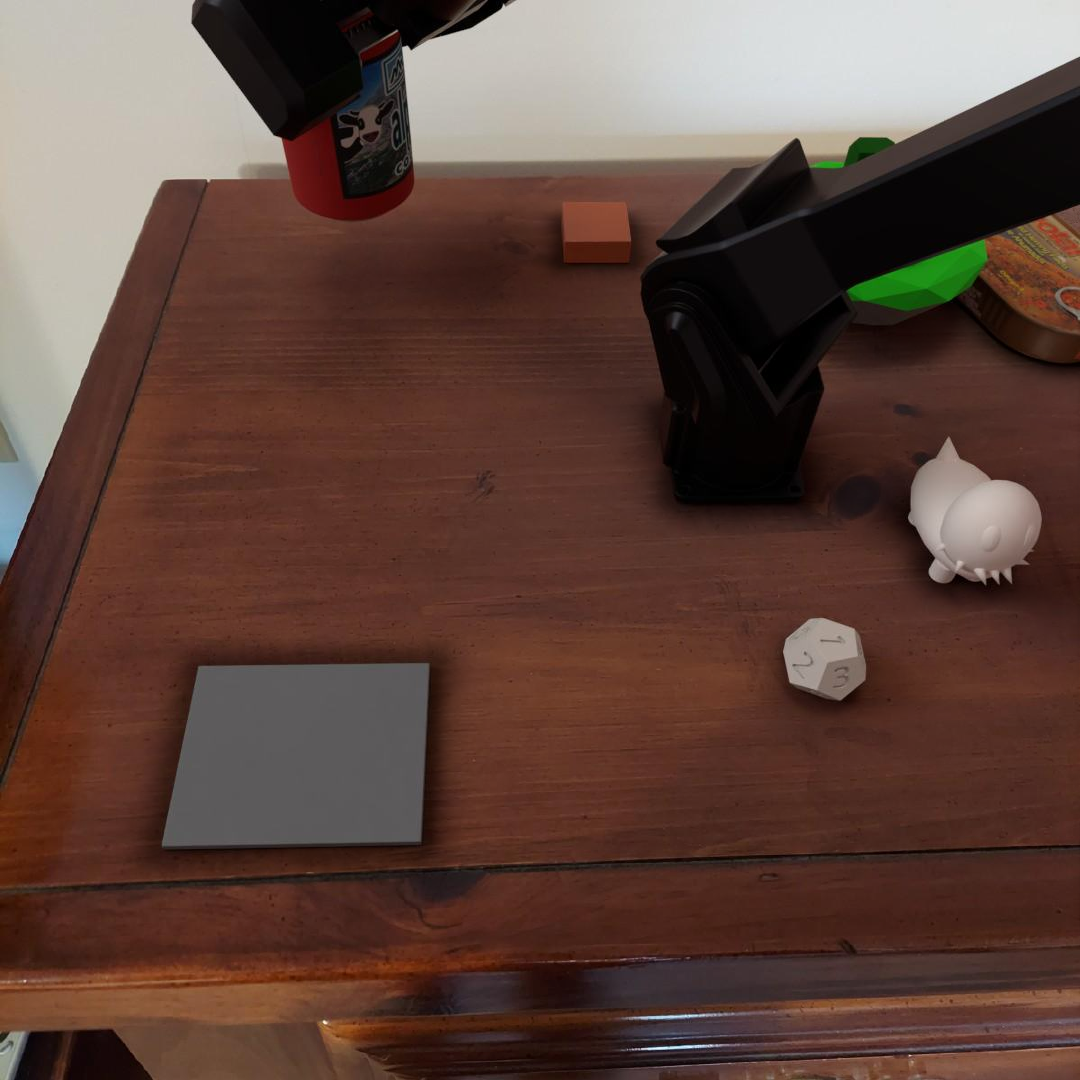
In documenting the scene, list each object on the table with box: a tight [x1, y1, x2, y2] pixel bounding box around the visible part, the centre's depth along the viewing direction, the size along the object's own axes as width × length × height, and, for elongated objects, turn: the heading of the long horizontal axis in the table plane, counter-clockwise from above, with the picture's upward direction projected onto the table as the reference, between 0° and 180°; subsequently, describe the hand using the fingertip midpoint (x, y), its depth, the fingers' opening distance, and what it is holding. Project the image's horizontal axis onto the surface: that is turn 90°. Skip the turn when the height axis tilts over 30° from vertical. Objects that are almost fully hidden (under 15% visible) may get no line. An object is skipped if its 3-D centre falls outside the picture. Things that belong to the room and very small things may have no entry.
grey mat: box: [161, 662, 431, 851], centre depth 42 cm, size 10×8×1 cm
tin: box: [955, 213, 1080, 364], centre depth 60 cm, size 15×3×8 cm
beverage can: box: [281, 0, 415, 223], centre depth 52 cm, size 7×7×12 cm
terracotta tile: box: [561, 201, 632, 264], centre depth 62 cm, size 4×4×2 cm
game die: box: [782, 617, 867, 701], centre depth 43 cm, size 4×4×3 cm
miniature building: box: [810, 136, 987, 326], centre depth 55 cm, size 12×12×11 cm
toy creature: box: [907, 436, 1043, 586], centre depth 46 cm, size 5×8×6 cm, turn 4°
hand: (318, 72), depth 52 cm, fingers closed on beverage can, 7 cm apart
